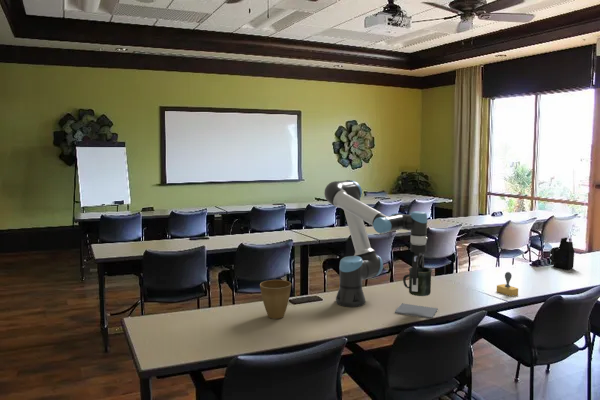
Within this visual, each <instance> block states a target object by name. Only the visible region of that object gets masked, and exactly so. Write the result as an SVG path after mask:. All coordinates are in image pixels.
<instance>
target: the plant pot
mask: <svg viewBox="0 0 600 400" xmlns="http://www.w3.org/2000/svg"><path fill="white" fill-rule="evenodd" d="M259 289H260V294H261V299H262V301H263V302H262V303H263V307H264V309H265V312H266V313H267V317H268V318H270V319H272V320H273V319H274V320H276V319H282V318H284V316H285V313H286V311H287V309H288V304H289V300H290V295H291V290H292V283H291V281H287V280H283V279H271V280H264V281H261V282H260V284H259Z"/></svg>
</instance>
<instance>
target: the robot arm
mask: <svg viewBox="0 0 600 400" xmlns="http://www.w3.org/2000/svg"><path fill="white" fill-rule="evenodd" d="M323 193H324V198H325V200H326V201H327V202H328V203H330V205H332V206H334V207H336V208H340V209H342V210H343V211H344V215H345V219H346V223H347V227H348V230H349V234H350V236H351V237H350V238H351V241H352V244H353V247H354V255H348V256H344V257H342V258H341V259H340V261H339V267H338V268H339V269H338V270H339V284H338V285H339V287H338V290H337V293H336V297H335V303H336V304H337V305H339V306H342V307H349V308H350V307H351V308H353V307H354V308H355V307H356V308H358V307H362V306H363V305H365V304H366V297H365V294H364V290H363V281H364V280H367V279H372V278H375V277H377V276H379V275H380V274H381V273H382V271H383V267H384V263H383V262H384V261H383V259H382V258H381V256H379V255H378V254H377V253H376V250H375V249H373V248H372V247H371V244H370V243H371V242H370V240H369V236H368V233H367V232H368V231H367V230H366V225H365V222H366V223H368V224H369V225H370V226H373V229H374V231H375V232H376V233H378V234H386V233H390V232H391V233H392V232H395V231H401V230H404V231H405V230H406V231H410V248H409V249H410V253H413V254H414V255H413V256H412V258H411V259H412V261H411V263H412V264H411V268H412V271H411V276H410V278H412V291H415V292H418V270H419V268H423V267H425V257H424V256H425V255H424V254H425V253H426V252H427V241H428V237H427V229H428V214H427V212H425V211H412V212H411V213H410V214H405V213H401V212H399V213H398V212H397V213H395V212H393V213H391V215H386V214H384V213H382V212H380V211H379V210H377V209H375V208H373V207H371V206H369V205H368V204H366V203H365V202H362V201H361V198H362V195H363V189H362V186H361V185H360V184H359V182H357V181H356V180H349V179H346V180H340V181H339V180H337V181H336V180H335V181H331V182H329V183H328V184H326V187H325V188H324V192H323Z"/></svg>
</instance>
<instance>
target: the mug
mask: <svg viewBox="0 0 600 400" xmlns="http://www.w3.org/2000/svg"><path fill="white" fill-rule="evenodd" d="M408 271H409V272H408V273H409V274H405V275H404V276H403V277H402V282H403V286H404V287H405V288H406V289H408V293H409V294H410V295H411V296H417V297H427V296H430V294H431V290H432V289H431V285H432V272H433V270H432V269H431V268H429V267H425V266H424V267H423V268H419V270H418V292H415V291H412V278H410V276H411V271H412V267H409V268H408ZM408 277H409V278H408ZM407 278H408V279H409V280H408V284H407V281H406V280H407Z"/></svg>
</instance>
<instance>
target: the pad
mask: <svg viewBox="0 0 600 400" xmlns="http://www.w3.org/2000/svg"><path fill="white" fill-rule="evenodd" d="M437 310H438V311H439V308H438V307H432V306H431V307H430V306H423V305H418V304H417V305H416V304H410V303H403V302H402V303H400V305H399V306H398V307H397V309H395V311H394V314H398V315H403V316H411V317H416V316H418V318H423V317H426V318H425V319H430V318H431V319H430V320H433V319H432V318H434V317H435V315H436V314H437V312H438V311H437ZM435 313H436V314H435ZM433 316H434V317H433Z"/></svg>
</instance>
